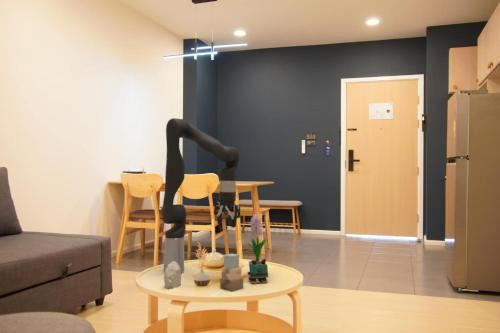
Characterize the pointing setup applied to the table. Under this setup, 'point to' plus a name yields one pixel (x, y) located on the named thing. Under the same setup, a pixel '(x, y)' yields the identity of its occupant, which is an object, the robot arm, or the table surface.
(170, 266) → the stone
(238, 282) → the walnut base
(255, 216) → the hyacinth
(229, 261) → the slate block
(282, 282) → the table surface
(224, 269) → the beech block
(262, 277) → the green toy vehicle
